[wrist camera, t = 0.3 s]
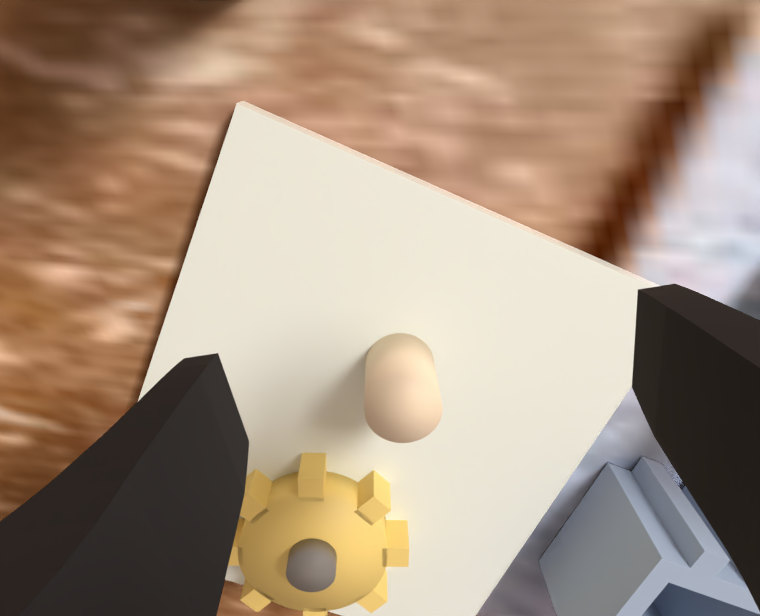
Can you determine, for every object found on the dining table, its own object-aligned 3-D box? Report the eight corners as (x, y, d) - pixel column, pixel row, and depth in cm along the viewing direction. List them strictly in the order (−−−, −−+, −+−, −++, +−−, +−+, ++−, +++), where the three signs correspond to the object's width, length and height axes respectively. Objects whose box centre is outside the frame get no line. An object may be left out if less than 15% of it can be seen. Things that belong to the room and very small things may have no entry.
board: (449, 629, 28) (461, 717, 24) (102, 521, 25) (55, 600, 22) (675, 292, 22) (736, 341, 18) (243, 100, 19) (211, 112, 15)
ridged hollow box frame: (638, 610, 28) (691, 722, 23) (529, 573, 27) (561, 683, 22) (735, 492, 25) (816, 591, 21) (618, 447, 24) (676, 540, 20)
